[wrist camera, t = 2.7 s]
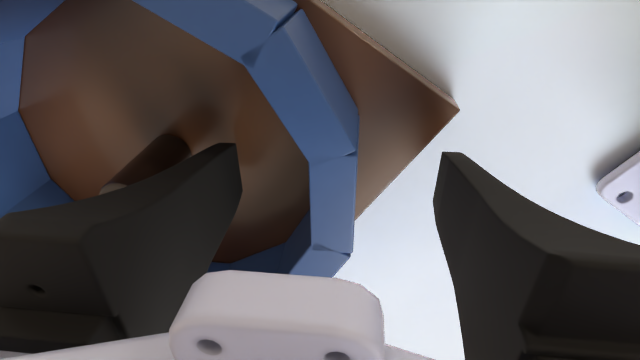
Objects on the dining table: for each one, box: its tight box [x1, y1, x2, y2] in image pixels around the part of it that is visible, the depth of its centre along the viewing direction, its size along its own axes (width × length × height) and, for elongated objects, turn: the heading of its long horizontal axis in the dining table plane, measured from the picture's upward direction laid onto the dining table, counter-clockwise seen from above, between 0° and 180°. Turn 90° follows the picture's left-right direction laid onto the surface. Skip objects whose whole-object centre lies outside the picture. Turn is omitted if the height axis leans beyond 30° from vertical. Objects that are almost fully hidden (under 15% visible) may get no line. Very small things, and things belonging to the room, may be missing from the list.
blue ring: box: [0, 0, 360, 278], centre depth 13 cm, size 14×14×3 cm
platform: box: [18, 0, 460, 263], centre depth 13 cm, size 15×15×4 cm
